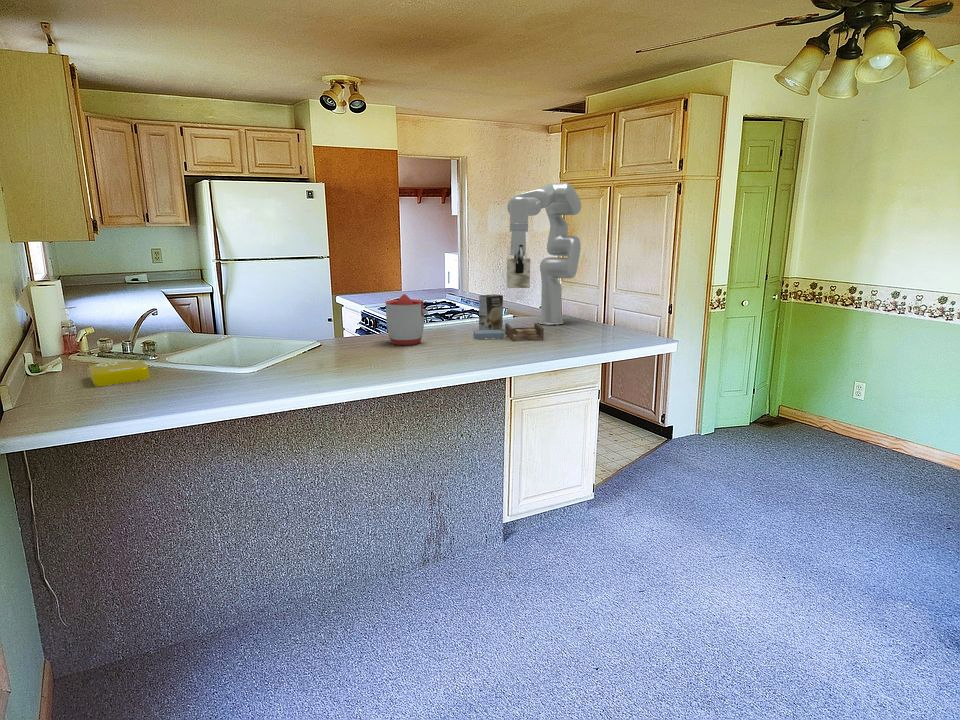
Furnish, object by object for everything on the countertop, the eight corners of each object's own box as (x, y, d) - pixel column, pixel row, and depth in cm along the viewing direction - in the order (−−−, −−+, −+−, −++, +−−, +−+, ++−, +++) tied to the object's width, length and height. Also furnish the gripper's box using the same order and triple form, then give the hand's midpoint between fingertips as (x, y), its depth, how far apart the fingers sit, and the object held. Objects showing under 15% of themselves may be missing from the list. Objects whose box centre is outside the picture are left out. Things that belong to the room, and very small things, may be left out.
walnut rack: (536, 334, 262) (536, 322, 260) (543, 340, 248) (543, 328, 247) (505, 334, 260) (505, 323, 259) (510, 341, 246) (510, 329, 245)
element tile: (94, 388, 178) (92, 373, 177) (90, 378, 190) (87, 364, 189) (151, 380, 187) (149, 366, 186) (143, 371, 199) (141, 357, 198)
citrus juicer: (427, 347, 235) (426, 296, 231) (383, 346, 236) (381, 296, 231) (431, 339, 250) (430, 291, 246) (390, 339, 251) (388, 291, 246)
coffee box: (487, 332, 265) (487, 296, 261) (478, 330, 270) (478, 295, 266) (503, 330, 270) (503, 295, 267) (493, 328, 275) (494, 293, 272)
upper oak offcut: (533, 333, 253) (533, 328, 253) (536, 335, 250) (536, 330, 249) (515, 334, 252) (515, 329, 251) (517, 336, 248) (517, 331, 247)
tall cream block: (527, 286, 254) (528, 258, 251) (529, 287, 250) (530, 258, 247) (506, 287, 253) (507, 258, 250) (508, 288, 249) (508, 259, 246)
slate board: (501, 335, 259) (501, 329, 258) (503, 338, 251) (503, 333, 250) (473, 335, 257) (473, 330, 257) (475, 339, 250) (475, 333, 249)
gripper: (506, 228, 254) (506, 271, 258) (513, 228, 237) (513, 274, 241) (523, 228, 255) (523, 271, 259) (532, 228, 238) (531, 274, 242)
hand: (518, 272), depth 250 cm, fingers closed on tall cream block, 4 cm apart
